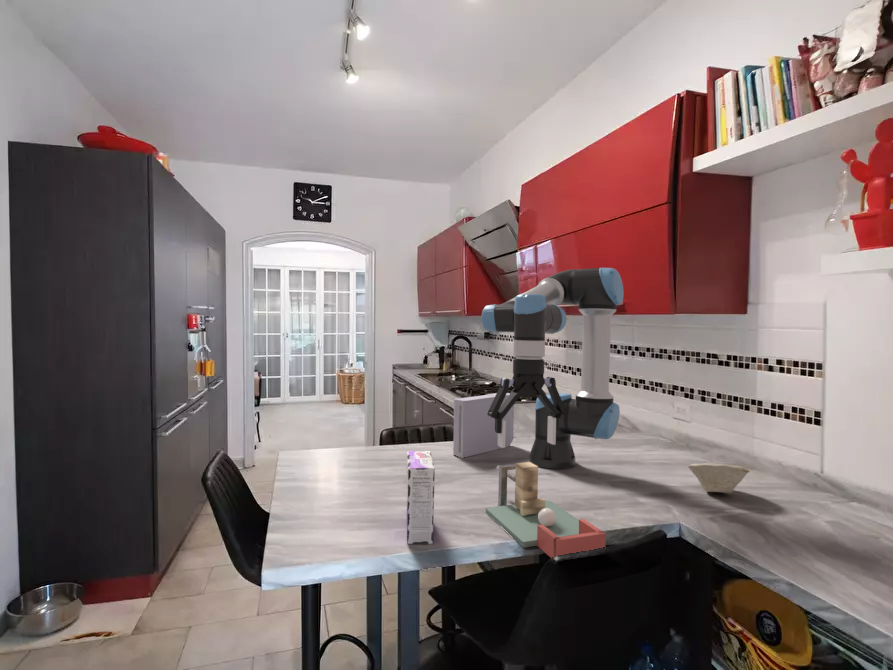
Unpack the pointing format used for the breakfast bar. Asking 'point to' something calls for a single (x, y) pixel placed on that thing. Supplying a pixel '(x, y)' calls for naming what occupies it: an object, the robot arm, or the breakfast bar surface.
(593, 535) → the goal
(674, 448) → the breakfast bar surface
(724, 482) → the bowl
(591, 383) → the robot arm
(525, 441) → the breakfast bar surface
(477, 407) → the game console
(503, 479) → the metal rectangular frame
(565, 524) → the pitch board
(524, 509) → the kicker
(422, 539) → the candy box
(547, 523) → the ball
